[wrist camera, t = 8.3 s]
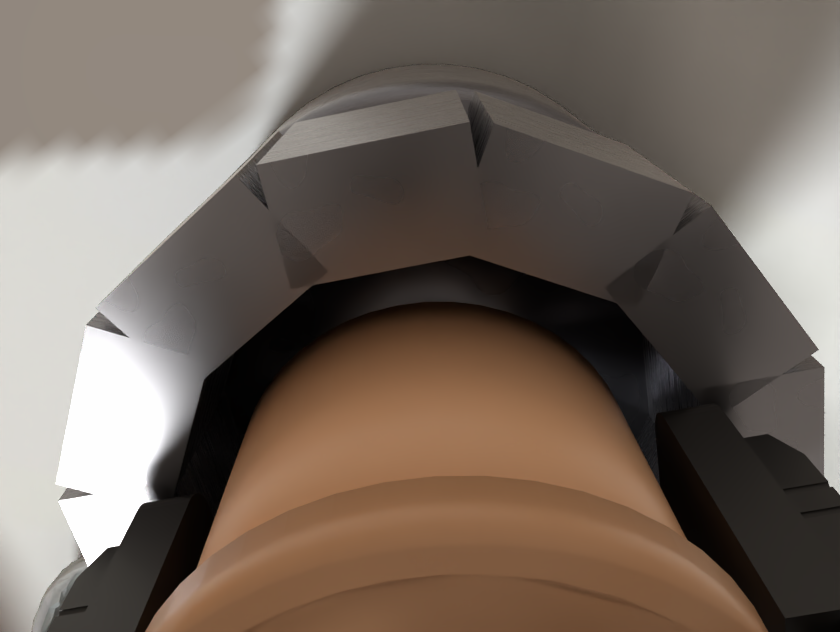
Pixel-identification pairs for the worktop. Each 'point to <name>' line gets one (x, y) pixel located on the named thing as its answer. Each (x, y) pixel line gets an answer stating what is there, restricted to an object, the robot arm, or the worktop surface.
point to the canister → (422, 282)
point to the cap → (446, 495)
